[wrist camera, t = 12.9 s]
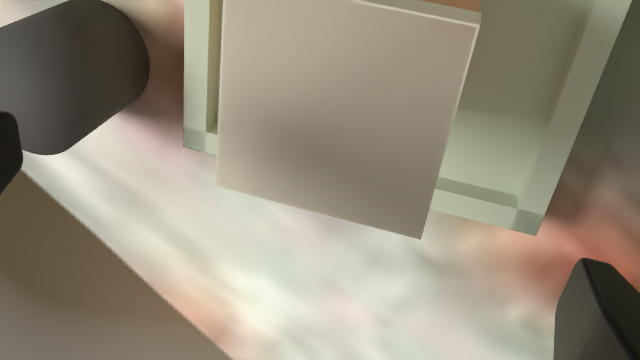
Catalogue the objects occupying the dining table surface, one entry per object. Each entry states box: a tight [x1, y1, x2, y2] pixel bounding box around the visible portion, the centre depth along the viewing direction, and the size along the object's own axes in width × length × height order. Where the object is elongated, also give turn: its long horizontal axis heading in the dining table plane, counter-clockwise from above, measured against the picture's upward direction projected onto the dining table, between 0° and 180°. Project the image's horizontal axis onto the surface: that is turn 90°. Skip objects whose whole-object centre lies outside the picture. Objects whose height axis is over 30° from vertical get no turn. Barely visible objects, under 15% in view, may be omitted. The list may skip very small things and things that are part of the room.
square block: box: [215, 0, 482, 239], centre depth 15 cm, size 5×5×7 cm
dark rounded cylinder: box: [0, 0, 149, 155], centre depth 20 cm, size 4×4×4 cm
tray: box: [183, 0, 632, 236], centre depth 17 cm, size 12×11×1 cm
